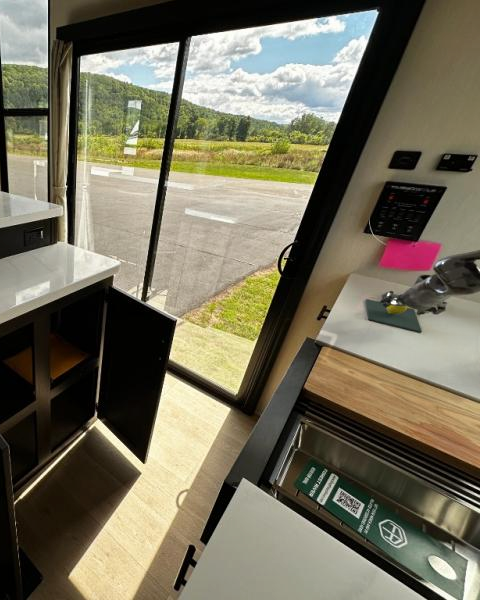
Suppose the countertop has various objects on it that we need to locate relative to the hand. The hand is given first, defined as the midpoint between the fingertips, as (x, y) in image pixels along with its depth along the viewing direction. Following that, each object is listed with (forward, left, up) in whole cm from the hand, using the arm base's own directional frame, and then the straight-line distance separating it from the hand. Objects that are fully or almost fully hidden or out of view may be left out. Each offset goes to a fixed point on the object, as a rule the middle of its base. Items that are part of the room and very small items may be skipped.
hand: (401, 308), depth 108 cm
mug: (-11, -22, -6) cm, 25 cm away
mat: (0, -6, -6) cm, 8 cm away
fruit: (0, -5, -6) cm, 8 cm away
